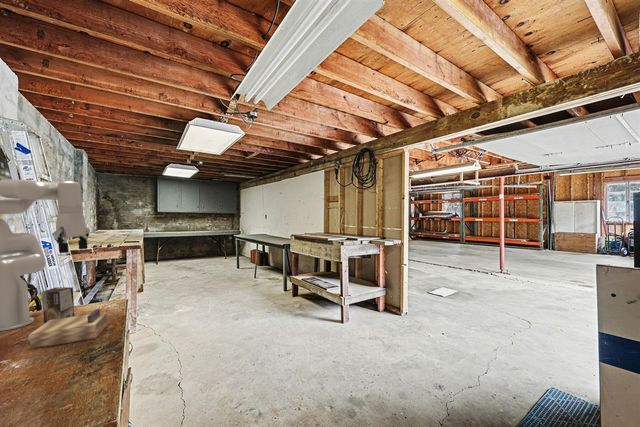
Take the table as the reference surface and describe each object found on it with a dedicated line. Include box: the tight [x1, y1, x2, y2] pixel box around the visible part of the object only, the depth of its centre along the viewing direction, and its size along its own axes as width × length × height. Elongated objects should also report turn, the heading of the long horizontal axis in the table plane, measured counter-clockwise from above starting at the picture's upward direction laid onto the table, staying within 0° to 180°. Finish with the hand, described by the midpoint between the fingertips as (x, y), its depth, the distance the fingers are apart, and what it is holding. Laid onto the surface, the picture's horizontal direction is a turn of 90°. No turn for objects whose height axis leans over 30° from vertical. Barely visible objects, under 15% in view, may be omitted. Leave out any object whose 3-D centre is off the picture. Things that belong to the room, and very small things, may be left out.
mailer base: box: [29, 314, 109, 350], centre depth 113 cm, size 20×14×5 cm
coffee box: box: [41, 286, 76, 324], centre depth 125 cm, size 9×6×16 cm
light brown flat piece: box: [27, 308, 109, 342], centre depth 113 cm, size 20×16×5 cm
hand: (74, 250), depth 116 cm, fingers open, 9 cm apart
